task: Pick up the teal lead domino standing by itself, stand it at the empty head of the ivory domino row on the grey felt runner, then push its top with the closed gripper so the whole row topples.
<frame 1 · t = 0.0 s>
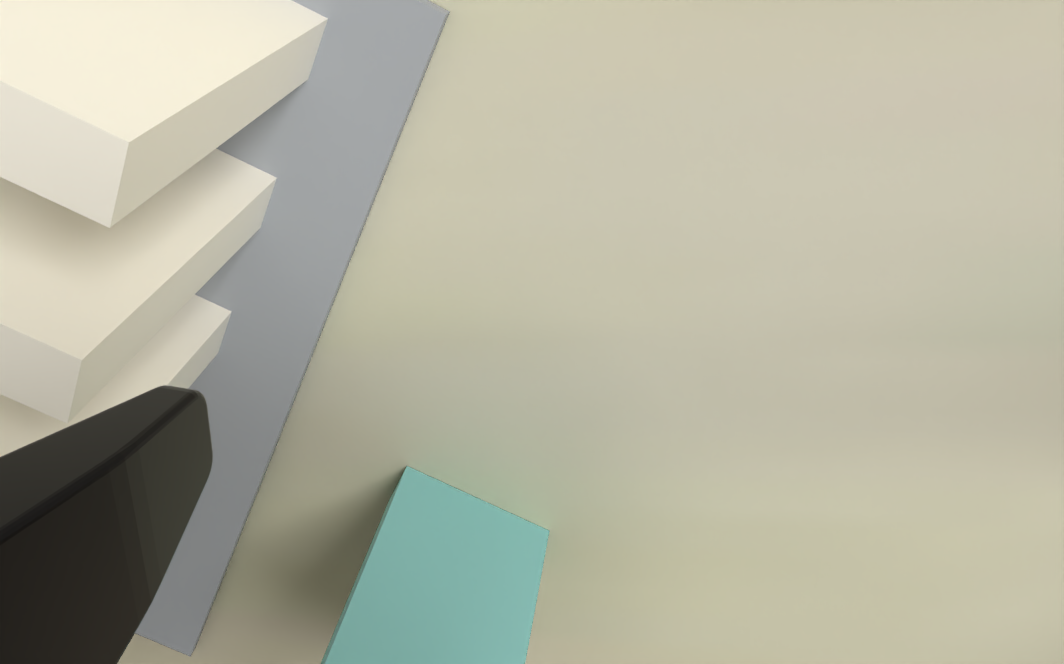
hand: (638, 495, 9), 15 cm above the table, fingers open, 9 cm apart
domino 4: (180, 160, 24), resting on runner
domino 5: (220, 0, 22), resting on runner
domino 3: (143, 295, 26), resting on runner
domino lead: (469, 515, 29), on the table
runner: (139, 335, 27), on the table
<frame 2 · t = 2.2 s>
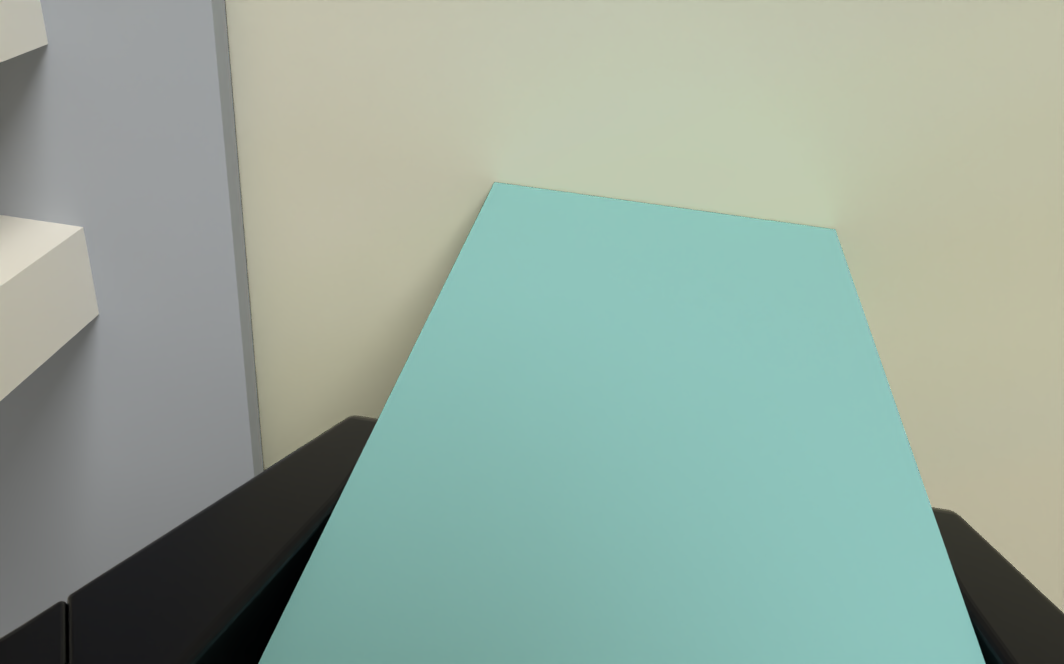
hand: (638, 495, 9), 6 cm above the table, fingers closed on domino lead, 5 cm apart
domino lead: (653, 254, 14), on the table, touching gripper
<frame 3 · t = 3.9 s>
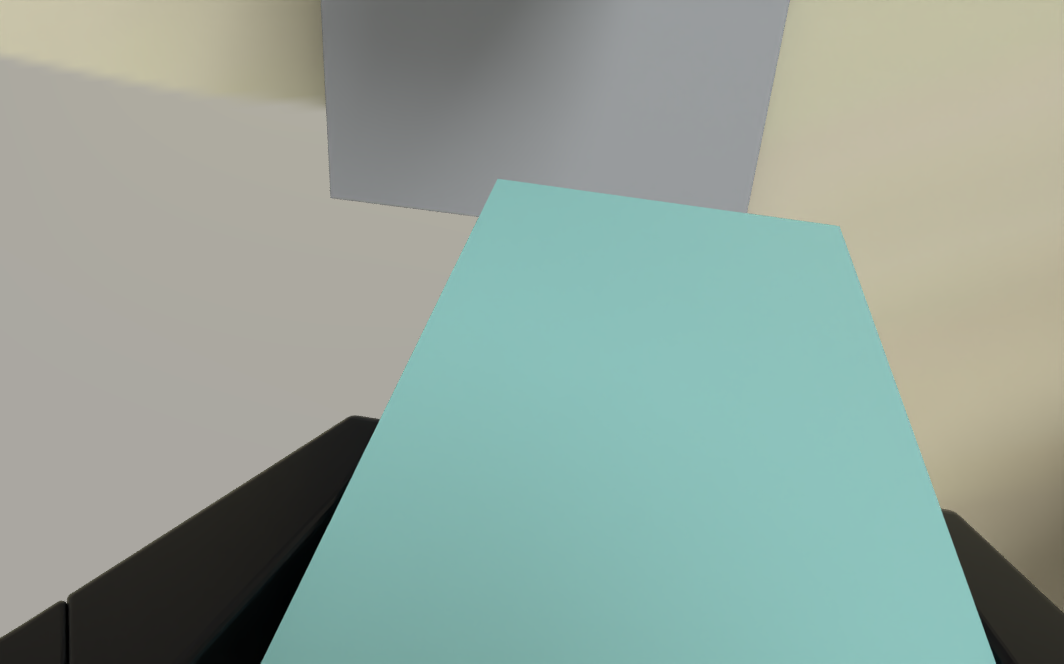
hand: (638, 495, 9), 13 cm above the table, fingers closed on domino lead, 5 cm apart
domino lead: (657, 251, 14), point 8 cm above the table, touching gripper
when the fingers open (6 cm above the table, at t = 5.8 s): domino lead stays where it is, resting on runner.
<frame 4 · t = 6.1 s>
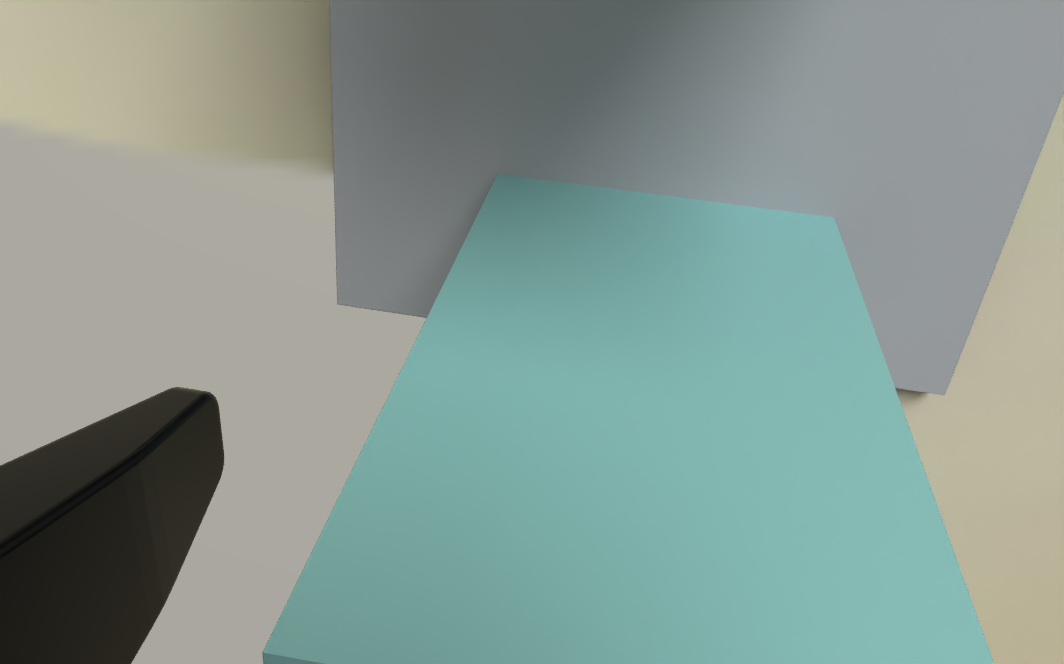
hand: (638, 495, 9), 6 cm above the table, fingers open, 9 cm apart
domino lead: (655, 243, 14), resting on runner
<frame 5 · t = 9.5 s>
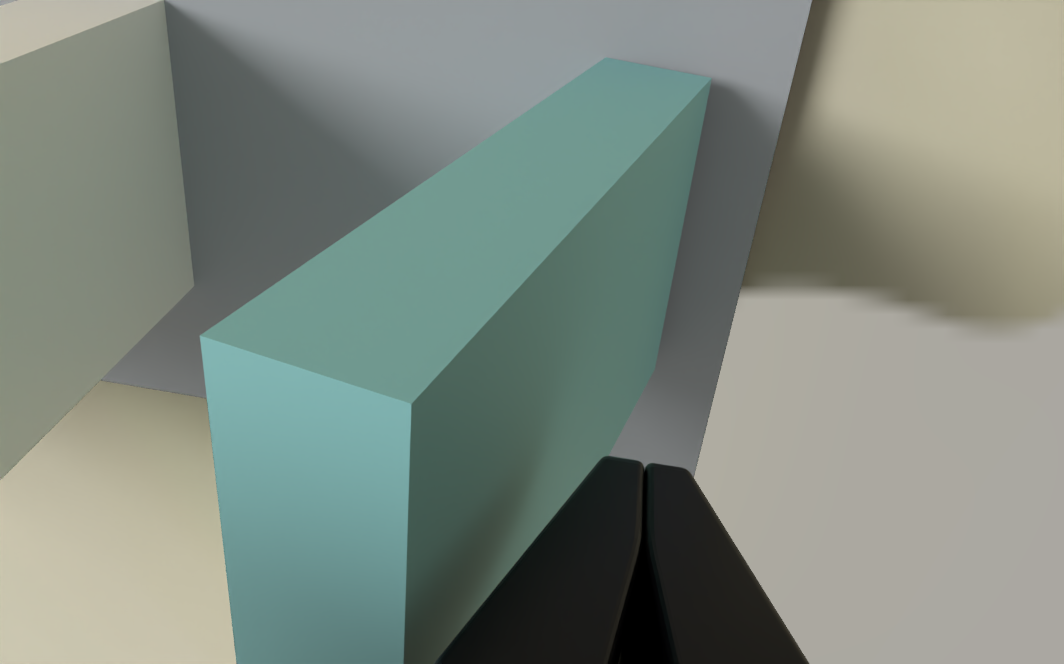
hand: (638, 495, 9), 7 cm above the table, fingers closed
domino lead: (632, 224, 15), point 1 cm above the table, tilted 14°, touching runner
runner: (0, 118, 16), on the table
domino 2: (134, 148, 15), resting on runner
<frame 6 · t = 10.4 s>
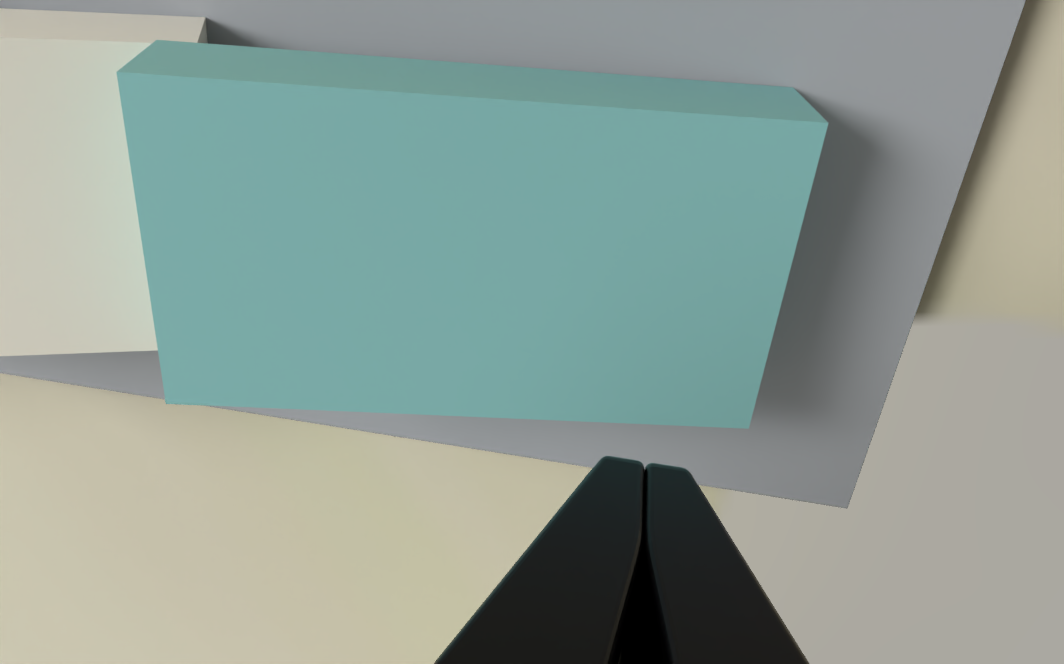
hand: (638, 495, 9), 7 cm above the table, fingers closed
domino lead: (769, 265, 14), point 1 cm above the table, tilted 79°, touching domino 2, runner
runner: (156, 152, 16), on the table
domino 2: (215, 189, 15), point 1 cm above the table, tilted 69°, touching domino 3, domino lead, runner
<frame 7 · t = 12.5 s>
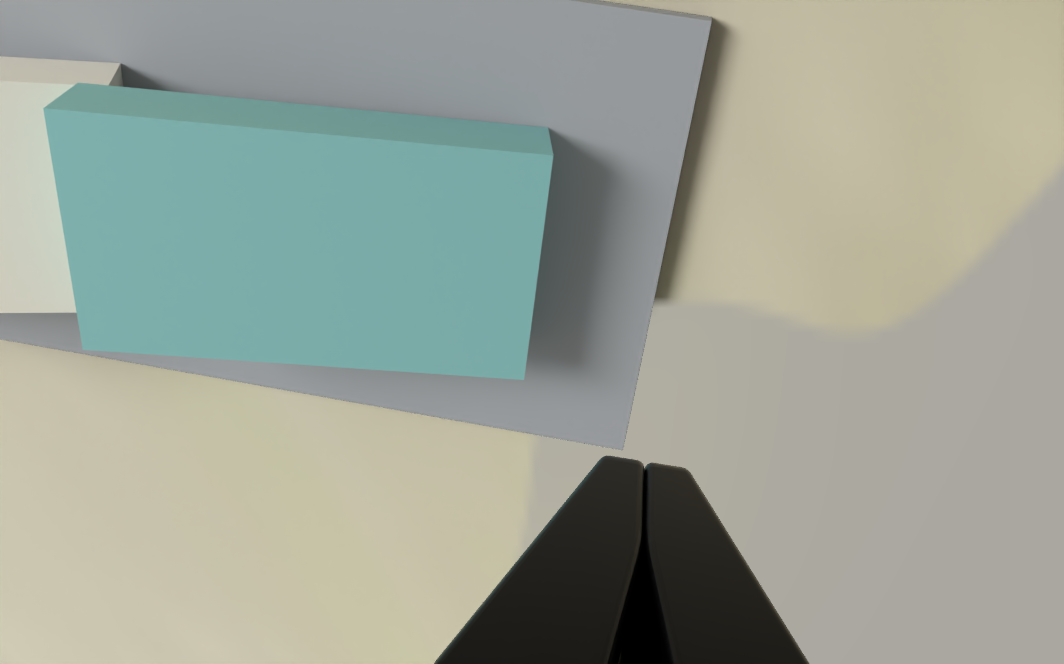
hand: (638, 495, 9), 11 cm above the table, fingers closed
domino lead: (535, 257, 19), point 1 cm above the table, tilted 79°, touching domino 2, runner
runner: (86, 161, 20), on the table
domino 2: (127, 191, 19), point 1 cm above the table, tilted 69°, touching domino 3, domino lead, runner
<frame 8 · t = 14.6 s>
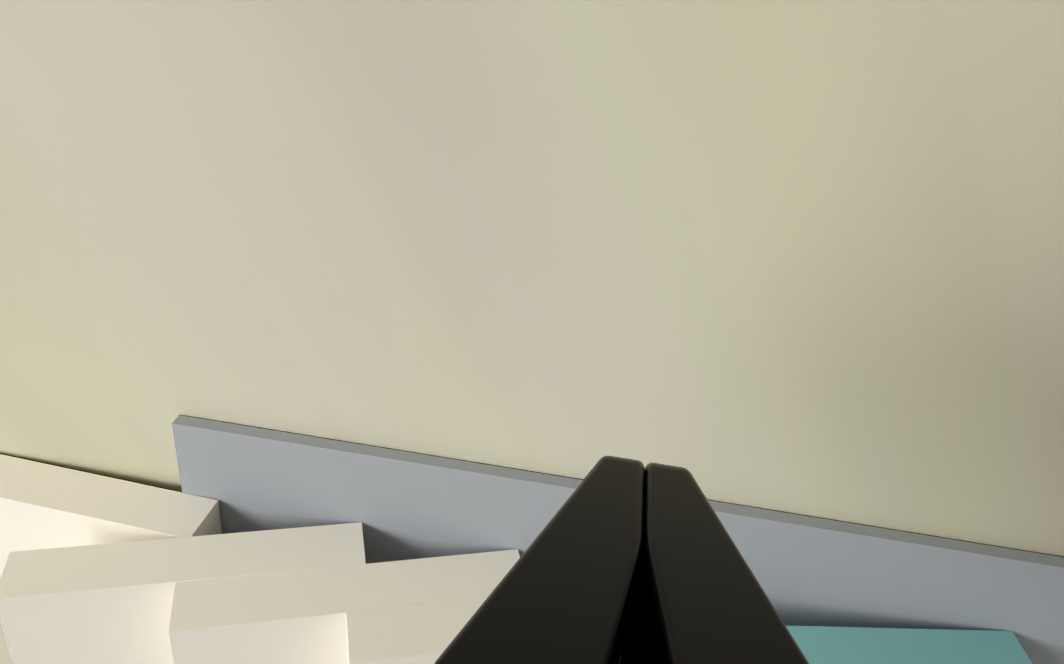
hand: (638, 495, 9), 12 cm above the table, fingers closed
domino 4: (363, 605, 26), point 1 cm above the table, tilted 69°, touching domino 3, domino 5
domino 5: (212, 582, 27), point 1 cm above the table, tilted 93°, touching domino 4, runner
domino 3: (516, 632, 26), point 1 cm above the table, tilted 69°, touching domino 2, domino 4, runner
runner: (619, 619, 27), on the table
domino 2: (673, 660, 26), point 1 cm above the table, tilted 69°, touching domino 3, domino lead, runner
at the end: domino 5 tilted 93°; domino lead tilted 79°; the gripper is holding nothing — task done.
